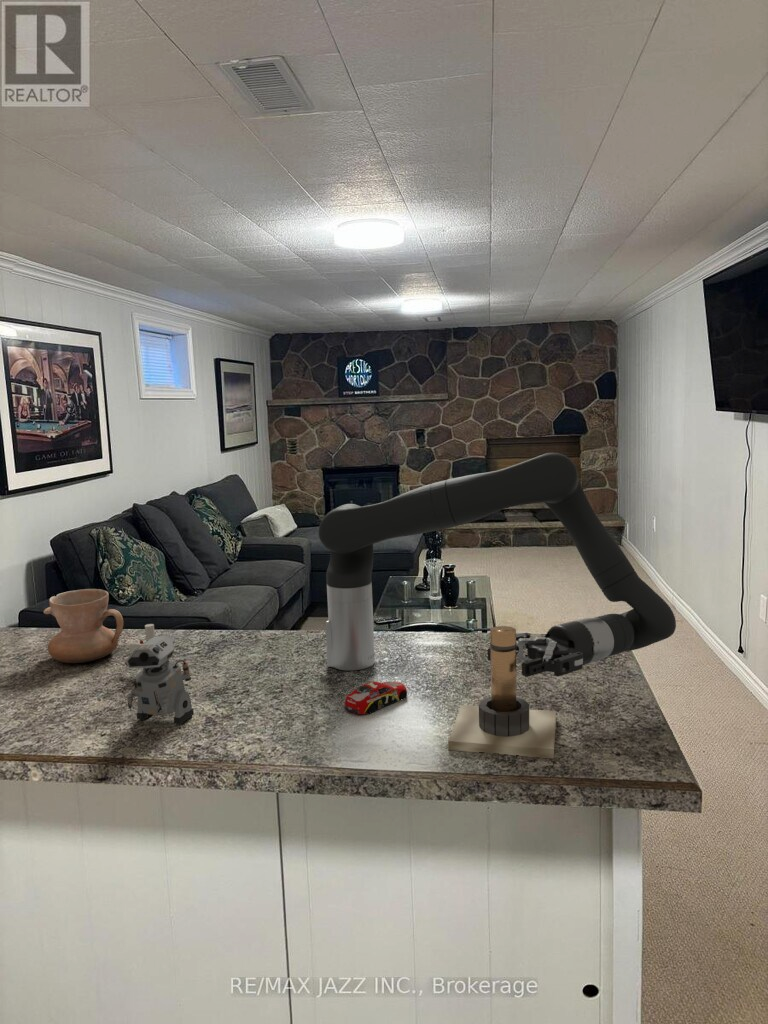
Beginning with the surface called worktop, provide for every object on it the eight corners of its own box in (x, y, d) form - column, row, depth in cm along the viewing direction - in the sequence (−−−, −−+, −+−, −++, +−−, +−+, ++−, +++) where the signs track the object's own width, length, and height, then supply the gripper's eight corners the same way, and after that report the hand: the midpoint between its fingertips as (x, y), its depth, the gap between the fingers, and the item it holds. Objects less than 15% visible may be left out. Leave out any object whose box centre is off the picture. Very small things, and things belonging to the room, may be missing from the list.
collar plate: (448, 750, 117) (447, 719, 117) (461, 713, 131) (461, 685, 130) (553, 758, 113) (553, 727, 113) (556, 719, 127) (556, 691, 126)
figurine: (115, 735, 127) (107, 649, 125) (156, 708, 138) (150, 629, 136) (161, 741, 124) (153, 653, 122) (199, 713, 135) (193, 632, 133)
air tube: (489, 729, 121) (488, 633, 118) (492, 718, 125) (491, 625, 122) (516, 731, 119) (515, 634, 117) (518, 720, 124) (517, 626, 121)
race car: (392, 690, 143) (392, 670, 143) (413, 697, 139) (412, 677, 139) (339, 711, 134) (338, 689, 134) (359, 719, 130) (359, 697, 130)
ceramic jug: (29, 667, 162) (23, 603, 160) (68, 645, 176) (63, 586, 174) (107, 671, 159) (102, 606, 157) (140, 648, 173) (135, 588, 171)
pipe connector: (117, 677, 154) (113, 630, 153) (149, 661, 163) (145, 616, 162) (157, 682, 150) (153, 634, 149) (187, 666, 160) (184, 620, 158)
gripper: (550, 612, 134) (477, 629, 126) (611, 631, 122) (535, 651, 114) (550, 652, 135) (478, 672, 127) (611, 675, 123) (536, 699, 115)
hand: (505, 662), depth 120 cm, fingers open, 8 cm apart
